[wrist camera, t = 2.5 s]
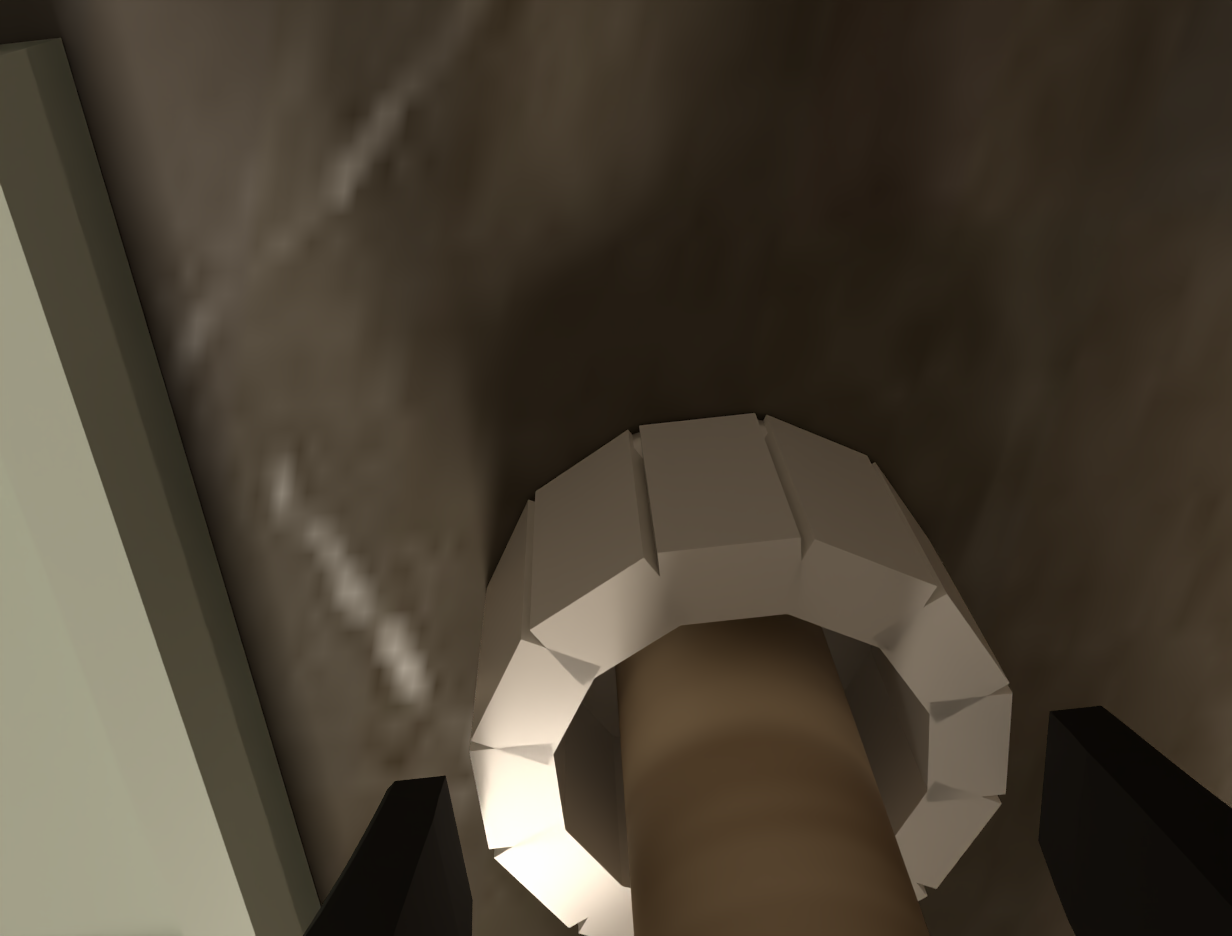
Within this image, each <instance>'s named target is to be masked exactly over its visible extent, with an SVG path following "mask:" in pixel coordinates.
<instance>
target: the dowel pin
mask: <svg viewBox="0 0 1232 936" xmlns="http://www.w3.org/2000/svg"><path fill="white" fill-rule="evenodd" d="M615 671H616V686H617V700H618V714H619V729H620V743H621V757H622V772H623V786H624V801H625V815H626V829H627V844H628V858H629V872H630V887H631V901H632V915H633V930H634V936H930V934H929V931H928V928H927V926H926V923H925V920H924V917H923V914H922V911H921V908H920V906H919V903H918V900H917V897H916V894H915V891H914V889H913V886H912V883H911V880H910V877H909V874H908V871H907V869H906V866H905V863H904V860H903V857H902V854H901V852H900V849H899V846H898V843H897V840H896V837H895V834H894V832H893V829H892V826H891V823H890V820H889V817H888V815H887V812H886V809H885V806H884V803H883V800H882V797H881V795H880V792H879V789H878V786H877V783H876V780H875V778H874V775H873V772H872V769H871V766H870V763H869V760H868V758H867V755H866V752H865V749H864V746H863V743H862V741H861V738H860V735H859V732H858V729H857V726H856V723H855V721H854V718H853V715H852V712H851V709H850V706H849V704H848V701H847V698H846V695H845V692H844V689H843V686H842V684H841V681H840V678H839V675H838V672H837V669H836V667H835V664H834V661H833V658H832V655H831V652H830V649H829V647H828V644H827V641H826V638H825V635H824V632H823V630H822V627H821V626H819V625H816V624H813V623H811V622H808V621H805V620H802V619H800V618H797V617H794V616H792V615H789V614H782V615H773V616H763V617H754V618H745V619H735V620H726V621H717V622H707V623H698V624H689V625H680V626H679V627H677V628H676V629H674V630H672V631H671V632H669V633H667V634H666V635H664V636H662V637H661V638H659V639H658V640H656V641H654V642H653V643H651V644H649V645H648V646H646V647H645V648H643V649H641V650H640V651H638V652H636V653H635V654H633V655H631V656H630V657H628V658H627V659H625V660H623V661H622V662H620V663H618V664H617V665H615Z"/></svg>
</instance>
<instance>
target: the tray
mask: <svg viewBox="0 0 1232 936" xmlns="http://www.w3.org/2000/svg"><path fill="white" fill-rule="evenodd" d="M320 908H321V906H320V903H319V899H318V896H317V893H316V889H315V886H314V883H313V879H312V876H311V873H310V869H309V866H308V863H307V859H306V856H305V853H304V849H303V846H302V843H301V839H300V836H299V833H298V829H297V826H296V823H295V819H294V816H293V812H292V809H291V806H290V802H289V799H288V796H287V792H286V789H285V786H284V782H283V779H282V776H281V772H280V769H279V766H278V762H277V759H276V756H275V752H274V749H273V746H272V742H271V739H270V736H269V732H268V729H267V725H266V722H265V719H264V715H263V712H262V709H261V705H260V702H259V699H258V695H257V692H256V689H255V685H254V682H253V679H252V675H251V672H250V669H249V665H248V662H247V659H246V655H245V652H244V649H243V645H242V642H241V638H240V635H239V632H238V628H237V625H236V622H235V618H234V615H233V612H232V608H231V605H230V602H229V598H228V595H227V592H226V588H225V585H224V582H223V578H222V575H221V572H220V568H219V565H218V562H217V558H216V555H215V552H214V548H213V545H212V541H211V538H210V535H209V531H208V528H207V525H206V521H205V518H204V515H203V511H202V508H201V505H200V501H199V498H198V495H197V491H196V488H195V485H194V481H193V478H192V475H191V471H190V468H189V465H188V461H187V458H186V454H185V451H184V448H183V444H182V441H181V438H180V434H179V431H178V428H177V424H176V421H175V418H174V414H173V411H172V408H171V404H170V401H169V398H168V394H167V391H166V388H165V384H164V381H163V378H162V374H161V371H160V367H159V364H158V361H157V357H156V354H155V351H154V347H153V344H152V341H151V337H150V334H149V331H148V327H147V324H146V321H145V317H144V314H143V311H142V307H141V304H140V301H139V297H138V294H137V291H136V287H135V284H134V280H133V277H132V274H131V270H130V267H129V264H128V260H127V257H126V254H125V250H124V247H123V244H122V240H121V237H120V234H119V230H118V227H117V224H116V220H115V217H114V214H113V210H112V207H111V204H110V200H109V197H108V193H107V190H106V187H105V183H104V180H103V177H102V173H101V170H100V167H99V163H98V160H97V157H96V153H95V150H94V147H93V143H92V140H91V137H90V133H89V130H88V127H87V123H86V120H85V117H84V113H83V110H82V106H81V103H80V100H79V96H78V93H77V90H76V86H75V83H74V80H73V76H72V73H71V70H70V66H69V63H68V60H67V56H66V53H65V50H64V46H63V43H62V40H61V38H54V39H45V40H36V41H27V42H18V43H9V44H0V936H303V934H304V933H305V931H306V930H307V928H308V927H309V925H310V924H311V922H312V920H313V919H314V917H315V916H316V914H317V912H318V911H319V909H320Z"/></svg>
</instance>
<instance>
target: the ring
mask: <svg viewBox="0 0 1232 936" xmlns="http://www.w3.org/2000/svg"><path fill="white" fill-rule="evenodd" d="M639 430H640V432H639V433H635V434H633V435H632V434H631V433H630V431H629V430H626V431H625V432H623V433H622V434H620V435H619V436H617V437H616V438H615V439H613V440H612V441H610V442H609V443H607V444H606V445H604V446H603V447H601V448H600V449H598V450H597V451H595V452H594V453H592V454H591V455H589V456H588V457H586V458H585V459H583V460H582V461H580V462H579V463H577V464H576V465H574V466H573V467H571V468H570V469H568V470H567V471H565V472H564V473H562V474H561V475H559V476H558V477H556V478H555V479H553V480H552V481H550V482H549V483H547V484H546V485H544V486H543V487H541V488H540V489H538V490H537V491H535V502H534V501H531V500H529V499H528V501H527V503H526V506H525V508H524V510H523V512H522V514H521V516H520V518H519V520H518V523H517V525H516V527H515V529H514V531H513V533H512V535H511V537H510V540H509V542H508V544H507V546H506V548H505V550H504V552H503V555H502V557H501V559H500V561H499V563H498V565H497V567H496V569H495V572H494V574H493V576H492V578H491V580H490V582H489V584H488V586H487V590H486V597H485V607H484V616H483V626H482V635H481V645H480V654H479V664H478V673H477V683H476V692H475V702H474V711H473V721H472V730H471V740H470V749H469V752H470V757H471V762H472V767H473V772H474V777H475V782H476V787H477V792H478V797H479V802H480V807H481V812H482V817H483V822H484V827H485V832H486V837H487V842H488V847H489V849H494V848H495V851H494V858H495V859H496V860H497V861H498V862H499V863H500V864H501V865H502V866H503V867H504V868H505V869H507V870H508V871H509V872H510V873H511V874H512V875H513V876H514V877H515V878H516V879H517V880H518V881H519V882H520V883H522V884H523V885H524V886H525V887H526V888H527V889H528V890H529V891H530V892H531V893H532V894H533V895H534V896H535V897H536V898H538V899H539V900H540V901H541V902H542V903H543V904H544V905H545V906H546V907H547V908H548V909H549V910H550V911H551V912H552V913H554V914H555V915H556V916H557V917H558V918H559V919H560V920H561V921H562V922H563V923H564V924H565V925H566V926H567V927H568V928H570V927H571V926H573V925H575V924H577V923H578V933H580V934H583V935H587V936H634V930H633V915H632V901H631V887H630V872H629V858H628V844H627V829H626V815H625V801H624V786H623V772H622V757H621V743H620V729H619V714H618V700H617V686H616V671H615V665H617V664H618V663H620V662H622V661H623V660H625V659H627V658H628V657H630V656H631V655H633V654H635V653H636V652H638V651H640V650H641V649H643V648H645V647H646V646H648V645H649V644H651V643H653V642H654V641H656V640H658V639H659V638H661V637H662V636H664V635H666V634H667V633H669V632H671V631H672V630H674V629H676V628H677V627H679V626H680V625H689V624H698V623H707V622H717V621H726V620H735V619H745V618H754V617H763V616H773V615H782V614H789V615H792V616H794V617H797V618H800V619H802V620H805V621H808V622H811V623H813V624H816V625H819V626H821V627H822V630H823V632H824V635H825V638H826V641H827V644H828V647H829V649H830V652H831V655H832V658H833V661H834V664H835V667H836V669H837V672H838V675H839V678H840V681H841V684H842V686H843V689H844V692H845V695H846V698H847V701H848V704H849V706H850V709H851V712H852V715H853V718H854V721H855V723H856V726H857V729H858V732H859V735H860V738H861V741H862V743H863V746H864V749H865V752H866V755H867V758H868V760H869V763H870V766H871V769H872V772H873V775H874V778H875V780H876V783H877V786H878V789H879V792H880V795H881V797H882V800H883V803H884V806H885V809H886V812H887V815H888V817H889V820H890V823H891V826H892V829H893V832H894V834H895V837H896V840H897V843H898V846H899V849H900V852H901V854H902V857H903V860H904V863H905V866H906V869H907V871H908V874H909V877H910V880H911V883H912V886H913V889H914V891H915V894H916V897H917V900H918V901H919V900H921V899H923V898H925V897H927V893H926V890H925V888H924V885H925V886H928V887H932V888H935V889H937V888H938V886H939V885H940V884H941V882H942V881H943V880H944V879H945V877H946V876H947V875H948V873H949V872H950V871H951V869H952V868H953V867H954V866H955V864H956V863H957V862H958V860H959V859H960V858H961V856H962V855H963V854H964V852H965V851H966V850H967V849H968V847H969V846H970V845H971V843H972V842H973V841H974V839H975V838H976V837H977V836H978V834H979V833H980V832H981V830H982V829H983V828H984V826H985V825H986V824H987V822H988V821H989V820H990V819H991V817H992V816H993V815H994V813H995V812H996V811H997V809H998V808H999V807H1000V805H1001V804H1002V803H1001V801H1000V799H999V797H998V795H1002V794H1006V782H1007V768H1008V753H1009V739H1010V724H1011V710H1012V695H1013V693H1012V691H1011V690H1010V688H1009V686H1008V684H1009V681H1008V679H1007V677H1006V676H1005V674H1004V672H1003V670H1002V668H1001V667H1000V665H999V663H998V661H997V660H996V658H995V656H994V654H993V652H992V651H991V649H990V647H989V645H988V644H987V642H986V640H985V638H984V636H983V635H982V633H981V631H980V629H979V628H978V626H977V624H976V622H975V620H974V619H973V617H972V615H971V613H970V611H969V610H968V608H967V606H966V604H965V603H964V601H963V599H962V597H961V595H960V594H959V592H958V590H957V588H956V587H955V585H954V583H953V581H952V579H951V578H950V576H949V574H948V572H947V571H946V569H945V567H944V565H943V563H942V562H941V560H940V558H939V556H938V555H937V553H936V551H935V549H934V547H933V546H932V544H931V542H930V540H929V539H928V537H927V536H926V535H925V533H924V532H923V530H922V529H921V527H920V526H919V524H918V523H917V522H916V520H915V519H914V517H913V516H912V514H911V513H910V511H909V510H908V509H907V507H906V506H905V504H904V503H903V501H902V500H901V498H900V497H899V496H898V494H897V493H896V491H895V490H894V488H893V487H892V486H891V484H890V483H889V481H888V480H887V478H886V477H885V475H884V474H883V473H882V471H881V470H880V468H879V467H878V465H877V464H876V462H874V463H873V464H871V462H870V460H869V458H868V456H867V455H865V454H862V453H860V452H857V451H855V450H852V449H850V448H847V447H845V446H843V445H840V444H838V443H835V442H833V441H830V440H828V439H825V438H823V437H820V436H818V435H816V434H813V433H811V432H808V431H806V430H803V429H801V428H798V427H796V426H794V425H791V424H789V423H786V422H784V421H781V420H779V419H776V418H774V417H772V416H769V415H767V414H766V416H765V418H764V420H763V421H762V420H757V417H756V414H755V413H750V414H740V415H731V416H722V417H713V418H704V419H694V420H685V421H676V422H667V423H657V424H648V425H639Z"/></svg>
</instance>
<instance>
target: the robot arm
mask: <svg viewBox="0 0 1232 936" xmlns="http://www.w3.org/2000/svg"><path fill="white" fill-rule="evenodd" d="M1038 841H1039V843H1040V846H1041V849H1042V852H1043V854H1044V857H1045V860H1046V863H1047V866H1048V868H1049V871H1050V874H1051V877H1052V879H1053V882H1054V885H1055V888H1056V890H1057V893H1058V895H1059V898H1060V900H1061V903H1062V905H1063V908H1064V911H1065V913H1066V916H1067V918H1068V921H1069V923H1070V925H1071V927H1072V929H1073V931H1074V933H1075V935H1076V936H1232V808H1230V807H1229V806H1228V805H1226V804H1225V803H1224V802H1223V801H1221V800H1220V799H1219V798H1217V797H1216V796H1215V795H1213V794H1212V793H1211V792H1209V791H1208V790H1207V789H1206V788H1204V787H1203V786H1202V785H1200V784H1199V783H1198V782H1197V781H1195V780H1194V779H1193V778H1191V777H1190V776H1189V775H1188V774H1186V773H1185V772H1184V771H1183V770H1181V769H1180V768H1179V767H1177V766H1176V765H1175V764H1174V763H1172V762H1171V761H1170V760H1169V759H1167V758H1166V757H1165V756H1164V755H1162V754H1161V753H1160V752H1159V751H1157V750H1156V749H1155V748H1154V747H1152V746H1151V745H1150V744H1149V743H1147V742H1146V741H1145V740H1144V739H1142V738H1141V737H1140V736H1139V735H1137V734H1136V733H1135V732H1134V731H1133V730H1131V729H1130V728H1129V727H1128V726H1126V725H1125V724H1124V723H1123V722H1121V721H1120V720H1119V719H1117V718H1116V717H1115V716H1114V715H1112V714H1111V713H1110V712H1109V711H1107V710H1106V709H1105V708H1103V707H1102V706H1095V707H1086V708H1076V709H1067V710H1057V711H1050V714H1049V725H1048V736H1047V748H1046V759H1045V771H1044V782H1043V793H1042V805H1041V816H1040V828H1039V839H1038ZM303 936H472V896H471V891H470V887H469V882H468V877H467V873H466V868H465V863H464V859H463V854H462V850H461V845H460V840H459V836H458V831H457V826H456V822H455V817H454V812H453V808H452V803H451V799H450V794H449V789H448V785H447V780H446V776H439V777H429V778H420V779H411V780H401V781H395V782H394V783H393V784H392V785H391V786H390V787H389V788H388V789H387V791H386V793H385V795H384V797H383V799H382V801H381V803H380V805H379V807H378V809H377V811H376V812H375V814H374V816H373V818H372V820H371V822H370V824H369V826H368V827H367V829H366V831H365V833H364V835H363V837H362V838H361V840H360V842H359V844H358V846H357V847H356V849H355V851H354V853H353V854H352V856H351V858H350V860H349V861H348V863H347V865H346V867H345V868H344V870H343V872H342V873H341V875H340V877H339V878H338V880H337V882H336V883H335V885H334V886H333V888H332V890H331V891H330V893H329V895H328V896H327V898H326V899H325V901H324V903H323V904H322V906H321V908H320V909H319V911H318V912H317V914H316V916H315V917H314V919H313V920H312V922H311V924H310V925H309V927H308V928H307V930H306V931H305V933H304V934H303Z"/></svg>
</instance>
